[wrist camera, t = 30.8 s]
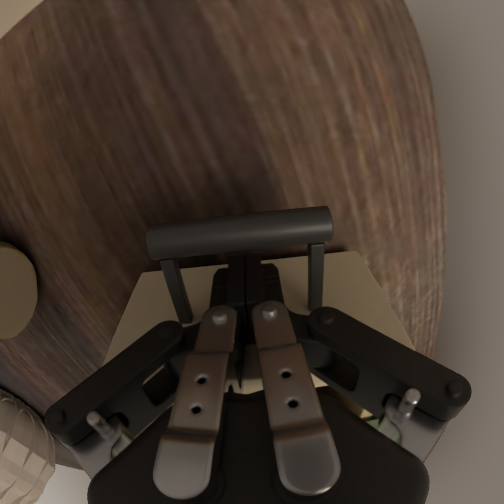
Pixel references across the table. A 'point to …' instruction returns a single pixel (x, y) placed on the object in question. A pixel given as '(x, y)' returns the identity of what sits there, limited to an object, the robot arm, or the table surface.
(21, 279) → the mug
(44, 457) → the vase
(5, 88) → the table surface
